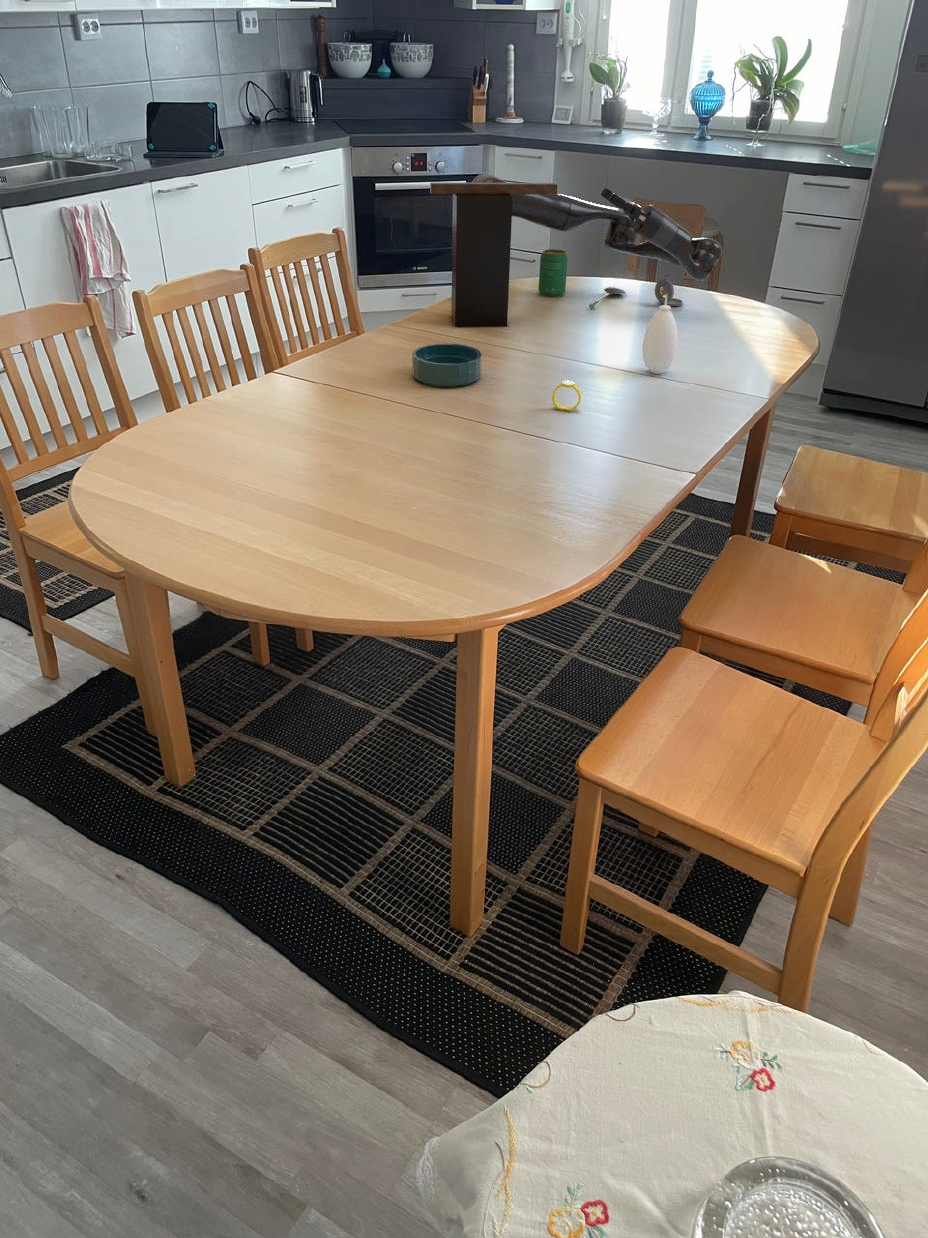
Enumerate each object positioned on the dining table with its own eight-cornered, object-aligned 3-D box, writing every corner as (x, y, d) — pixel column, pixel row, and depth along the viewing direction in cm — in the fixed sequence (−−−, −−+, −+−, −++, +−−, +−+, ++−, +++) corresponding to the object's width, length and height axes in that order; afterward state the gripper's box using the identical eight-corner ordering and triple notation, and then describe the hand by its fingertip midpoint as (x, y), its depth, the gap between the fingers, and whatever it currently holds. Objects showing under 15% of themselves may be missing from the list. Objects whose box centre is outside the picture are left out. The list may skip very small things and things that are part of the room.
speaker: (501, 316, 260) (506, 190, 242) (507, 326, 251) (512, 196, 234) (451, 316, 258) (452, 190, 241) (455, 327, 250) (456, 196, 233)
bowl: (398, 377, 215) (397, 353, 212) (445, 362, 225) (445, 339, 222) (447, 393, 206) (447, 369, 203) (494, 377, 216) (495, 353, 213)
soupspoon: (629, 296, 283) (608, 295, 286) (629, 285, 281) (609, 283, 284) (601, 310, 266) (580, 308, 269) (602, 298, 264) (580, 295, 267)
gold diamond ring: (550, 410, 199) (552, 382, 196) (552, 405, 201) (554, 378, 198) (578, 413, 198) (580, 385, 194) (580, 408, 200) (582, 381, 197)
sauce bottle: (666, 366, 225) (677, 289, 215) (678, 377, 218) (689, 297, 209) (635, 367, 224) (644, 290, 214) (646, 378, 217) (656, 298, 208)
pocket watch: (683, 302, 276) (688, 267, 270) (679, 309, 269) (684, 273, 264) (655, 299, 278) (660, 264, 272) (650, 306, 271) (655, 270, 266)
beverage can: (568, 292, 283) (571, 250, 277) (559, 298, 277) (562, 255, 271) (543, 289, 286) (546, 247, 279) (534, 295, 280) (536, 252, 273)
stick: (555, 192, 240) (555, 182, 239) (556, 194, 238) (557, 184, 237) (430, 192, 237) (430, 182, 236) (431, 194, 235) (431, 183, 234)
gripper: (654, 245, 242) (604, 212, 237) (640, 234, 254) (592, 202, 249) (672, 218, 239) (621, 184, 234) (657, 208, 251) (608, 175, 245)
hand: (606, 193), depth 241 cm, fingers open, 8 cm apart
